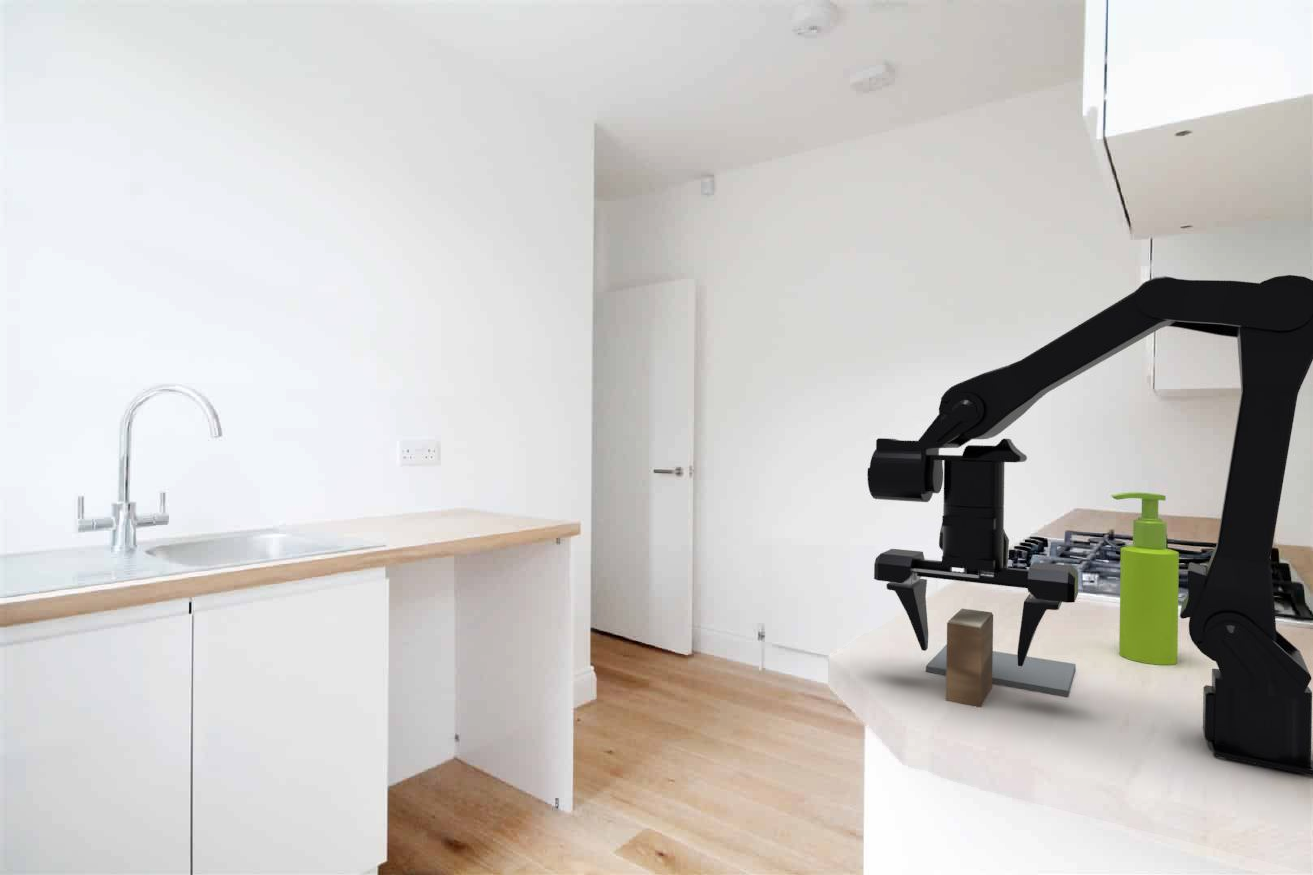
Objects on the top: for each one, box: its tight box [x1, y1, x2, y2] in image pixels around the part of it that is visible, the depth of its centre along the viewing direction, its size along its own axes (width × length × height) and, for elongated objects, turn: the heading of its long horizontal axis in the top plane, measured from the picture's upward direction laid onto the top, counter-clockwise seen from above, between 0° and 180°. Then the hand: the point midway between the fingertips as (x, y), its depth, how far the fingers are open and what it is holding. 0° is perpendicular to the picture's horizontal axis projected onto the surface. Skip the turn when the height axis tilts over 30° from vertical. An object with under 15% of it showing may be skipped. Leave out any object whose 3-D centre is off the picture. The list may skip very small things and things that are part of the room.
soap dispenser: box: [1111, 491, 1180, 666], centre depth 90 cm, size 6×7×20 cm
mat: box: [925, 643, 1076, 698], centre depth 84 cm, size 14×11×1 cm
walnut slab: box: [945, 608, 994, 708], centre depth 76 cm, size 3×7×8 cm, turn 147°
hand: (971, 657), depth 76 cm, fingers open, 9 cm apart
